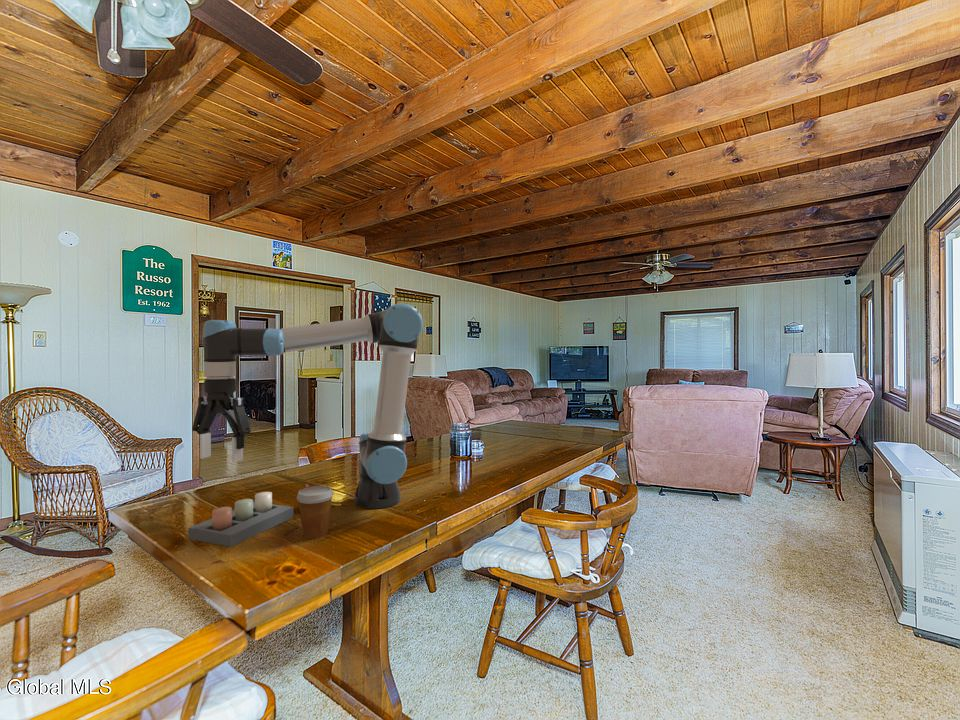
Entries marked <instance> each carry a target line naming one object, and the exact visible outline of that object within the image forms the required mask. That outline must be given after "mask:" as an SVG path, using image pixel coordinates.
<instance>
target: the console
mask: <svg viewBox="0 0 960 720" xmlns="http://www.w3.org/2000/svg"><path fill="white" fill-rule="evenodd" d="M293 518H294V507H293V506H288V505H280V504H276V503H275V504H274V503H272V510H269V511H267V512H265V513H260V512H255V501H253V518H251V519H248V520H246V521H244V522H243V521H237V520H235V509H234V510H233V509H232V527H229V528H227V529H225V530H222V531H217V530H213V528H212V518H210V519H207V520H204V521H202V522H200V523H199V522H198V523H197V524H194V525H192V526H190V527H188V528H187V529H188V530H187V531H188V540H192V539H193V540H192V541H198V542H203V543H209V544H214V545H218V546H224V547H228V548H231V547H234V546H236V545H237V544H240V543H243V542H244V541H246V540H249V539H250V538H252V537H254V536H257V535H258V534H261V533H264V532H265V531H267V530H269V529H271V528H273V527H276V526H277V525H279V524H282V523H283V522H287V521H289V520H290V519H293Z"/></svg>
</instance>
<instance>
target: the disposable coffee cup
mask: <svg viewBox="0 0 960 720" xmlns="http://www.w3.org/2000/svg"><path fill="white" fill-rule="evenodd" d="M303 488H304V487H303ZM301 489H302V488H301ZM301 489H299V490H298V493H297V495H296V501H297V500H298V501H297V503H298V502H299V503H298V507H299V514H300V520H301V528H302V535H303V537H304V538H305V539H310V540H311V539H319V538H322V537H325V536H326V535H327V534H328V532H329V526H330V525H329V524H330V516H331V508H332V499H333V496H334V493H335V492H333V490H332V489H333V488H332V487H331V486H327V485H314V486H310V487H307V488H304V489H302V490H301Z"/></svg>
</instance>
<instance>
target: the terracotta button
mask: <svg viewBox="0 0 960 720" xmlns="http://www.w3.org/2000/svg"><path fill="white" fill-rule="evenodd" d="M232 511H233V508H232V507H231V506H221V507H217V508H214V509H213V510H212V511H211V512H212V513H211V515H212V518H211V519H212V528H213V530H217V531H222V530H225V529H227V528H229V527H232Z"/></svg>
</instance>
